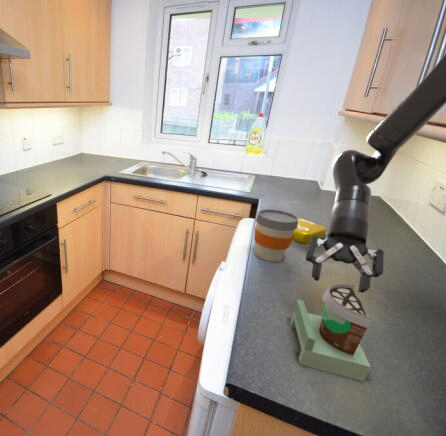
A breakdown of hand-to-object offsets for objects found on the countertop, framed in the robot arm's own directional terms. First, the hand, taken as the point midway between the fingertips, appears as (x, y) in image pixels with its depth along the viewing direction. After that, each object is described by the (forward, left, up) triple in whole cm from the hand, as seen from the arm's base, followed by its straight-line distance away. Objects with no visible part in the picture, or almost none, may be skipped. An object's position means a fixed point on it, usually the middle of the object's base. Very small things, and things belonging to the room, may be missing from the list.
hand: (338, 285), depth 67 cm
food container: (+2, +8, -8) cm, 12 cm away
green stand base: (+2, +9, -12) cm, 15 cm away
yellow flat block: (-3, -59, -12) cm, 60 cm away
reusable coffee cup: (+10, -34, -12) cm, 37 cm away
